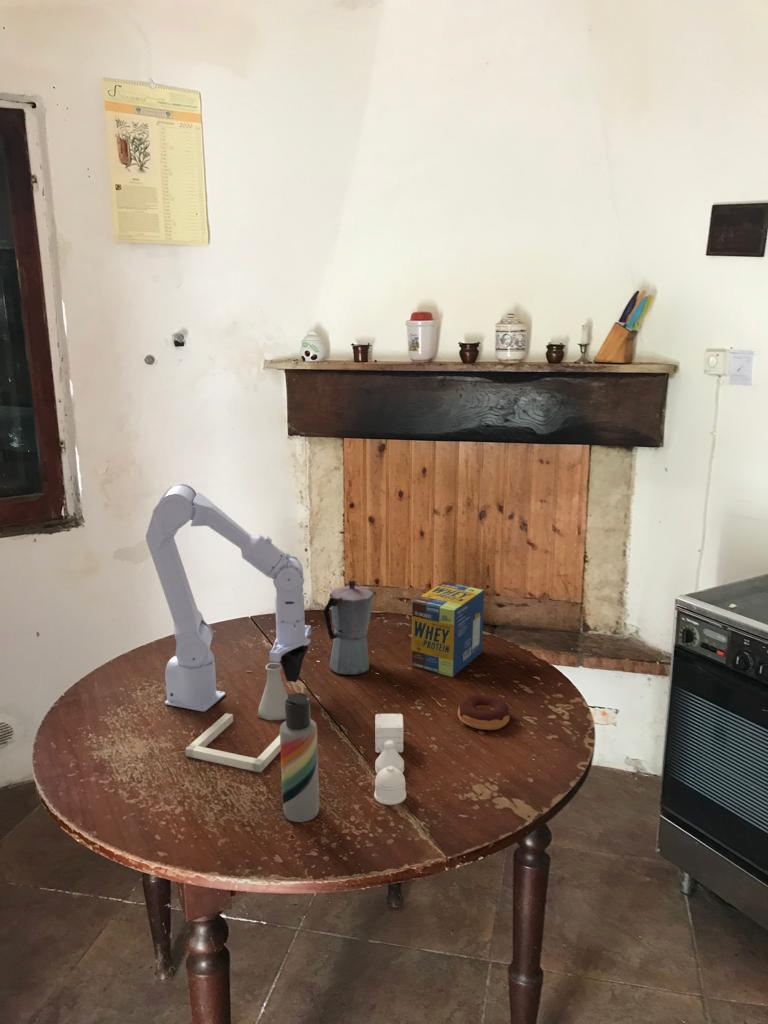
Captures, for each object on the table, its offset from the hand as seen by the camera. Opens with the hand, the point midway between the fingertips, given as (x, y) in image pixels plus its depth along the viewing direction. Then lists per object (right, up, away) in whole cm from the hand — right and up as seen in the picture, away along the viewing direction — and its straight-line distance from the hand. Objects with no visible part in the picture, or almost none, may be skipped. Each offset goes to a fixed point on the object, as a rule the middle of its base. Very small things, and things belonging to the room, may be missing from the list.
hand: (292, 680), depth 163 cm
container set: (+20, -10, -25) cm, 34 cm away
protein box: (+33, +1, +17) cm, 37 cm away
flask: (-3, -5, -6) cm, 8 cm away
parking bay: (-7, -8, -17) cm, 20 cm away
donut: (+38, -6, -9) cm, 39 cm away
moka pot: (+11, 0, +13) cm, 17 cm away
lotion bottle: (+6, -13, -37) cm, 40 cm away
